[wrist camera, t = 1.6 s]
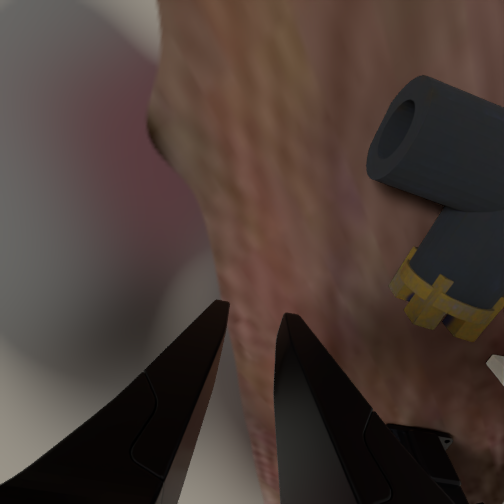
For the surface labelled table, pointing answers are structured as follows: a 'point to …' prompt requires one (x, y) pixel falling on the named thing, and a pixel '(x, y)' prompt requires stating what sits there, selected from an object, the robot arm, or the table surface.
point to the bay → (497, 366)
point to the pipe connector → (448, 202)
